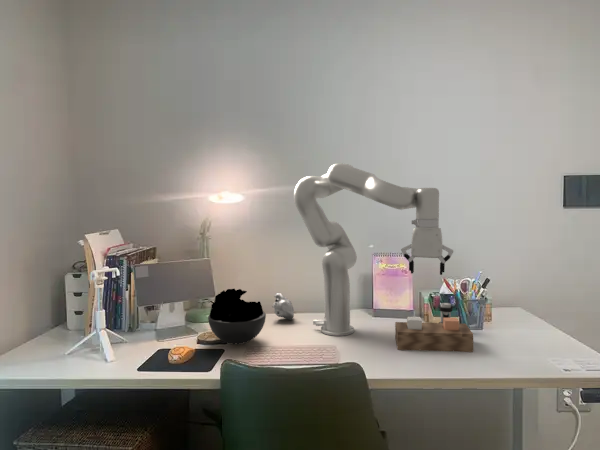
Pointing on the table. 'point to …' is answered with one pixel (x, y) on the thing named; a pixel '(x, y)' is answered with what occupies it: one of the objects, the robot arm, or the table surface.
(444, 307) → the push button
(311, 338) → the table surface
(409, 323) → the grey plunger
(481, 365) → the table surface
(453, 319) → the orange block
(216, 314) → the coal bowl
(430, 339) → the button box
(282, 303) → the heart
